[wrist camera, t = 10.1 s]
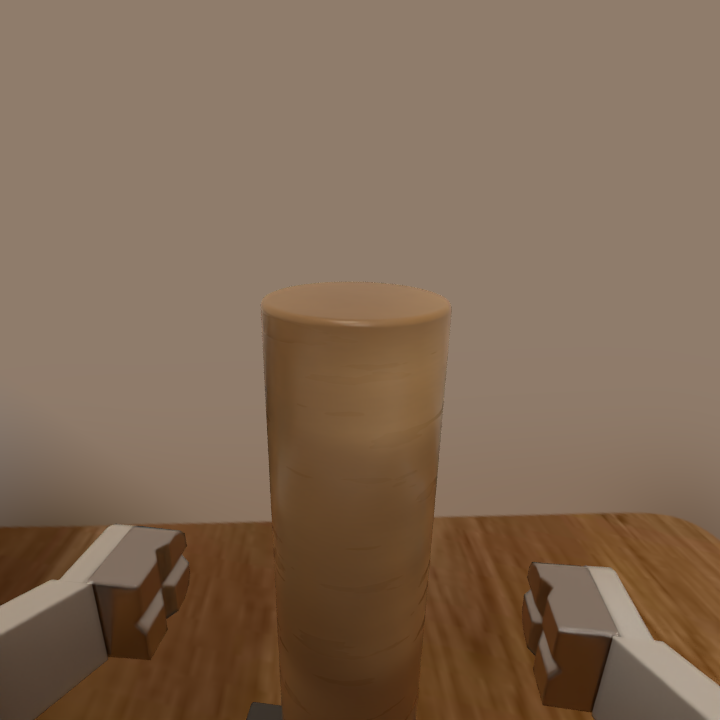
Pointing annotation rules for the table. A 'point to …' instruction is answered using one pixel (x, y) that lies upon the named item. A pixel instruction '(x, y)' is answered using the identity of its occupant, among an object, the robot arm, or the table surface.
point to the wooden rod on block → (352, 491)
